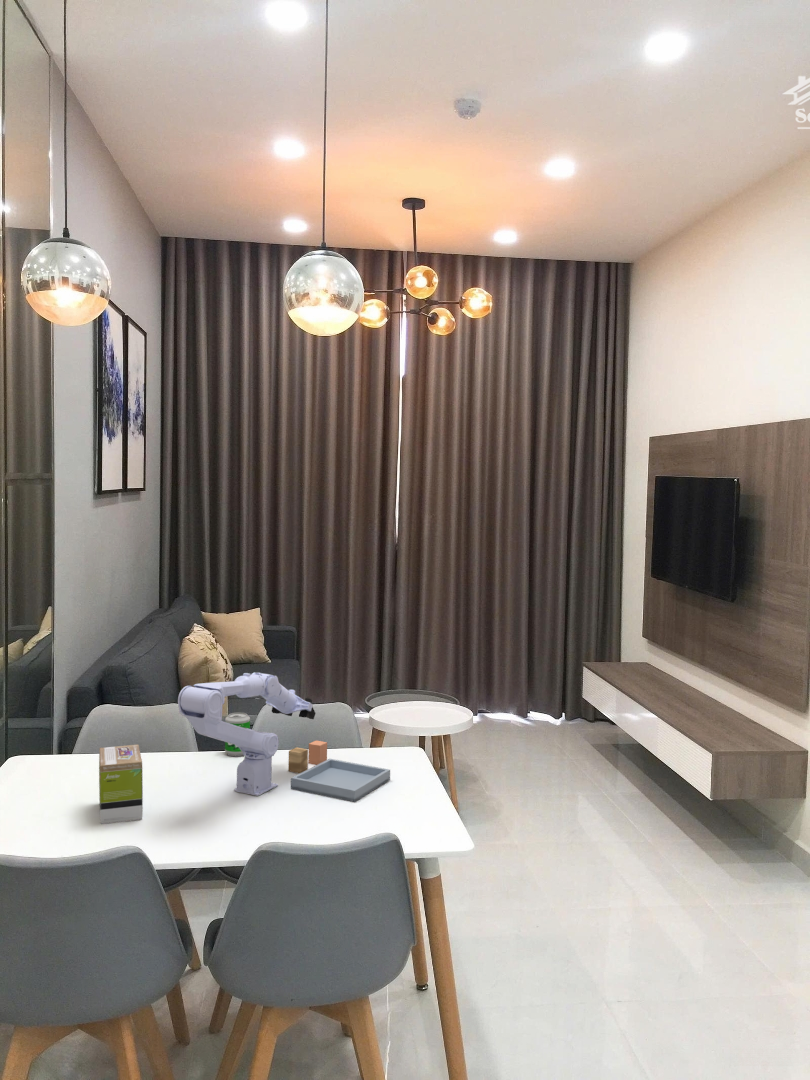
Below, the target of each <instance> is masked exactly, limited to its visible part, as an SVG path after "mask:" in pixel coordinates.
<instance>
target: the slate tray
mask: <svg viewBox="0 0 810 1080" xmlns="http://www.w3.org/2000/svg"><path fill="white" fill-rule="evenodd" d="M389 781H391V769H388V768H382V767H377V766H372V765H368V764H367V765H366V764H362V763H355V762H351V761H350V762H349V761H345V760H339V759H334V758H327V760H326V761H324V762H322V763H320V764H318V765H314V766H312V767H309V768H308V770H306V771H304V772H302V773H300V774H299V773H297V774H296V775H294V776H293V777H290V789H291V790H295V791H300V792H304V793H309V794H314V795H318V796H319V795H320V796H323V797H328V798H329V797H330V798H333V799H339V800H343V801H348V802H352V803H356V802H357V801H359V800H360V799H362V798H364V797H365V796H367V795H369V794H370V793H372V792H373V791H375V790H376V789H379V788H380V787H381V786H383V785H385V784H386V783H388V782H389Z"/></svg>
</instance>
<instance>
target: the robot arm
mask: <svg viewBox="0 0 810 1080" xmlns="http://www.w3.org/2000/svg"><path fill="white" fill-rule="evenodd" d="M178 693H179V694H178V697H177V705H178V712H179V714H180V715H182V716H183V717H184V718H186V719H187V721H188V722H189V723H190V725H191V727H192V728H193V729H194V730H195V732H196V733H197V734H198V735H202V736H204V737H208V738H212V739H214V740H218V741H222V742H224V743H225V742H228V743H231V744H235V746H238V747H239V748H240V750H241V751H242V752H243V756H244V758H243V760H242V761H241V762H240V763H239V764H238V766H237V768H236V787H235V788H234V789H233V791H234V792H237V793H242V794H248V795H252V796H258V797H259V796H260V795H263V794H264V793H267V792H268V791H270V790H273V789H274V788H276V787H278V786H279V784H278V783H275V782H272V770H273V769H272V768H273V767H272V766H273V765H272V764H273V762H272V761H273V757H274V756H275V754H276V752H277V751H278V749H279V743H280V741H279V737H278V734H276V733H274V732H268V731H267V732H266V731H261V730H256V729H252V728H250V729H249V728H247V729H245V728H242V727H239V726H236V725H233V724H230V723H227V722H225V720H224V721H223V705H224V704H225V701H226V700H225V698H226V697H229V696H234V695H235V696H237V697H238V698H240V699H244V698H253V697H259V696H260V697H262V699H264V700H265V704H266V705H267V706H269V707H271V713H273V714H281V715H285V716H287V717H292V716H293V713H297V712H299V714H298V717H299V718H307V719H308V720H309V719H310V720H314V719H315V716H316V710H315V709H314V707H313V700H312V699H311V698H308V697H306V698H305V699H303V698H302V697H300V696H298V695H296V690H295V689H287V688H286V687H285V686H284V685H282V684H281V683H280V682H279V677H278V676H277V675H273V674H269V673H262V672H255V671H254V672H253V673H250V672H249V673H248V672H244V673H243V674H242V675H239V676H238V677H237V676H236V678H235V679H234V681H232V680H231V681H217V682H216V681H215V682H204V683H203V682H202V683H195V684H193V685H186V686H184V687H183V688H181V690H180V692H178Z"/></svg>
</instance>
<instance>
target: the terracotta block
mask: <svg viewBox="0 0 810 1080" xmlns="http://www.w3.org/2000/svg"><path fill="white" fill-rule="evenodd" d="M326 760H328V742H327V741H326V742H325V741H322V740H314V741H312V742H310V743H308V765H314V766H316V765H318V764H320V763H322V762H324V761H326Z"/></svg>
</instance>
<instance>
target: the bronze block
mask: <svg viewBox="0 0 810 1080" xmlns="http://www.w3.org/2000/svg"><path fill="white" fill-rule="evenodd" d="M308 756H309V748H308V749H307V748H302V747H298V746H297V747H295V748H293V749H290V750H288V770H287V772H289V773H294V774H300V773H302V772H304V771H306V770H308V769H309V767H308V766H309V764H308Z"/></svg>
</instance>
